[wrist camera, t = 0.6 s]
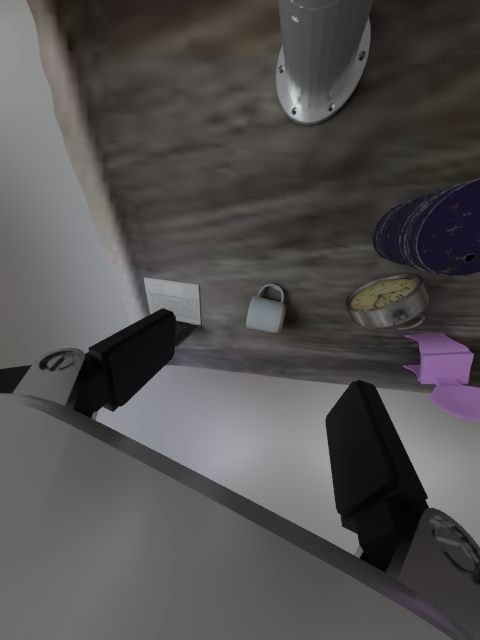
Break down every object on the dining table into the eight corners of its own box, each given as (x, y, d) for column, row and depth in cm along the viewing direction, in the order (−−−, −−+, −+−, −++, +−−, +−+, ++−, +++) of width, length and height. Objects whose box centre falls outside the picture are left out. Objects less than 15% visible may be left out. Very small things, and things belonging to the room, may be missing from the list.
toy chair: (450, 329, 36) (535, 382, 23) (445, 365, 39) (517, 431, 26) (398, 333, 39) (446, 382, 26) (397, 366, 42) (440, 425, 29)
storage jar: (371, 210, 32) (419, 193, 19) (446, 189, 28) (566, 151, 15) (371, 266, 35) (412, 285, 23) (438, 254, 32) (531, 267, 19)
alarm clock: (397, 266, 34) (464, 288, 20) (408, 290, 35) (478, 326, 21) (338, 294, 39) (358, 327, 25) (349, 314, 40) (374, 357, 26)
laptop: (200, 284, 49) (169, 298, 38) (202, 325, 54) (176, 348, 43) (145, 276, 53) (103, 288, 42) (152, 315, 59) (117, 334, 48)
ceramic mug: (282, 326, 46) (279, 340, 40) (251, 319, 48) (243, 332, 41) (291, 285, 42) (289, 294, 35) (257, 280, 44) (249, 287, 37)
